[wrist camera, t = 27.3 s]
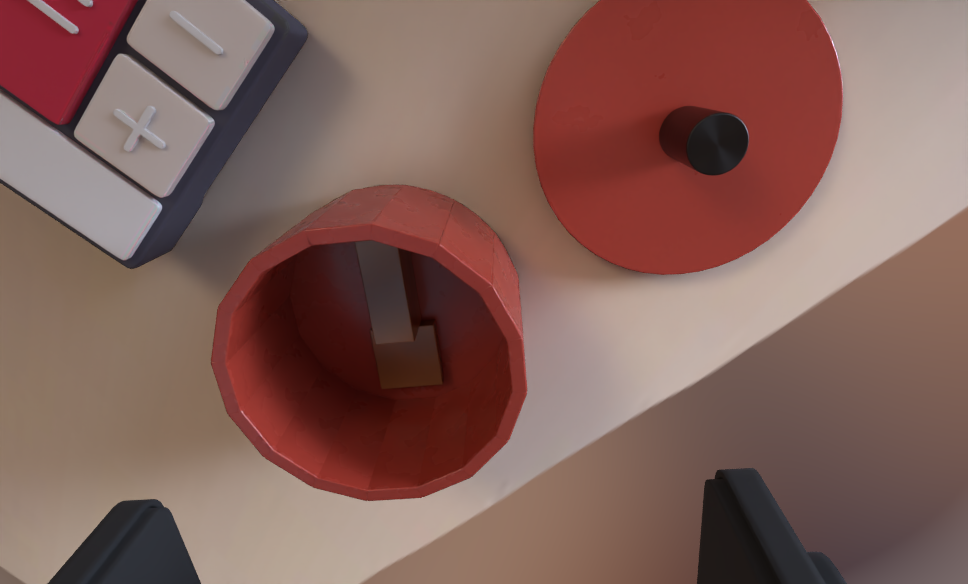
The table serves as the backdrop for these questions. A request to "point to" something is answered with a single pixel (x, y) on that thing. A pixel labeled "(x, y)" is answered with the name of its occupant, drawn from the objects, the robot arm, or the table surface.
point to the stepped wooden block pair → (398, 319)
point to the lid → (686, 127)
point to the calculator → (132, 108)
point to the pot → (349, 352)
